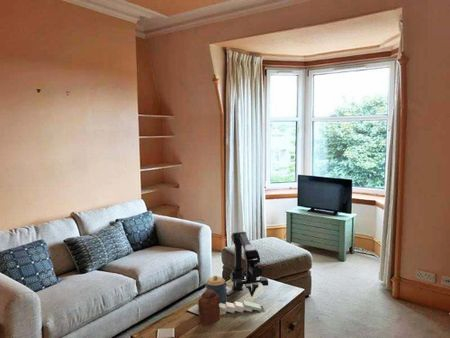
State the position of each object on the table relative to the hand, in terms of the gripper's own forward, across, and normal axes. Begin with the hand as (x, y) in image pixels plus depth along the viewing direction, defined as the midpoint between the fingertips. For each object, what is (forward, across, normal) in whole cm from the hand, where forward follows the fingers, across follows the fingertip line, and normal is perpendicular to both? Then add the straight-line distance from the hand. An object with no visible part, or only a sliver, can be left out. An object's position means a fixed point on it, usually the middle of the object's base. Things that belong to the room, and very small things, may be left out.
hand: (251, 296), depth 200 cm
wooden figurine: (+9, +26, +8) cm, 28 cm away
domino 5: (+7, -5, 0) cm, 9 cm away
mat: (+8, +5, 0) cm, 10 cm away
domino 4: (+7, 0, 0) cm, 7 cm away
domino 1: (+7, +16, 0) cm, 17 cm away
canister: (+9, +20, -11) cm, 25 cm away
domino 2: (+7, +11, 0) cm, 13 cm away
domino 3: (+7, +6, 0) cm, 9 cm away
